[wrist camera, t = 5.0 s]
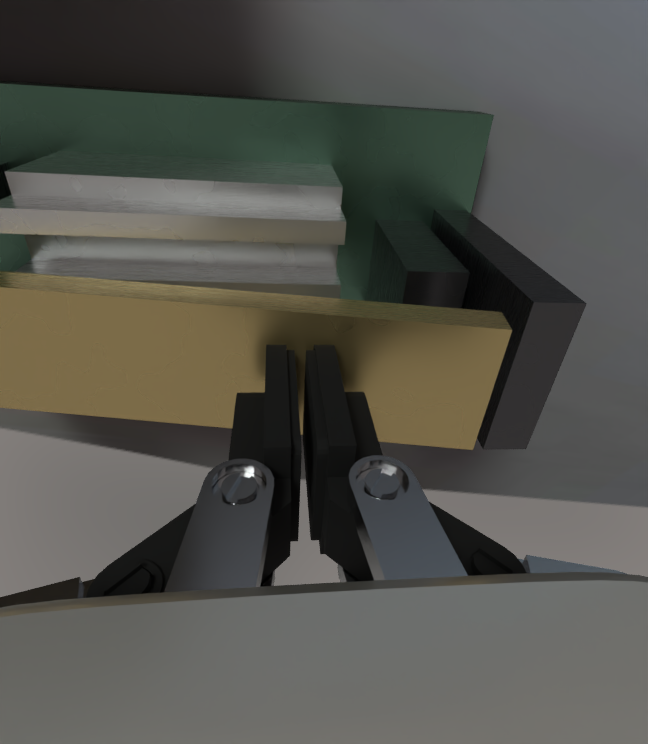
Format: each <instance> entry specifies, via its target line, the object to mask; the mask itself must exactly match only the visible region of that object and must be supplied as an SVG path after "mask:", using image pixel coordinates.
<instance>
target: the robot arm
mask: <svg viewBox="0 0 648 744" xmlns="http://www.w3.org/2000/svg"><path fill="white" fill-rule="evenodd" d="M303 445H304V458H305V471H306V484H307V497H308V509H309V521H310V522H309V523H310V534H311V540H319V544H320V553H321V554H326V555H327V556H329V557H330V558H331V559H333V560H334V561H335V562H336V563H338V575H339V579H340V583H321V584H303V585H284V586H274V580H275V569H276V568H277V567H278V566H279V565H281V564H282V563H283V562H284V561H285V560H286V559H287V558H288V557H289V556H290V541H298V527H299V502H300V476H301V432H300V418H299V405H298V391H297V377H296V364H295V351H294V350H287V346H286V345H266V369H265V392H250V393H237V395H236V402H235V410H234V419H233V427H232V436H231V444H230V453H229V461H225V462H223V463H221V464H219V465H217V466H216V467H214V468H213V469H212V470H211V471H210V472H209V473H208V475H207V477H206V478H205V480H204V482H203V485H202V488H201V491H200V493H199V496H198V499H197V502H196V504H195V505H193V506H192V507H190V508H189V509H187V510H186V511H185V512H183V513H182V514H180V515H179V516H178V517H176V518H175V519H173V520H172V521H170V522H169V523H168V524H166V525H165V526H163V527H162V528H161V529H159V530H158V531H156V532H155V533H154V534H152V535H151V536H149V537H148V538H146V539H145V540H144V541H142V542H141V543H139V544H138V545H137V546H135V547H134V548H132V549H131V550H130V551H128V552H127V553H125V554H124V555H122V556H121V557H120V558H118V559H117V560H115V561H114V562H112V563H111V564H110V565H108V566H107V567H106V568H105V569H104V570H103V571H102V572H100V573H99V574H98V575H97V577H96V578H95V579H93V580H89V581H85V582H82V581H81V579H80V577H78V578H74V579H70V580H66V581H62V582H58V583H54V584H51V585H47V586H43V587H39V588H35V589H31V590H28V591H24V592H19V593H15V594H12V595H8V596H4V597H0V744H648V577H645V576H640V575H629V574H625V573H623V572H619V571H616V570H611V569H605V568H599V567H593V566H587V565H582V564H576V563H570V562H565V561H558V560H553V559H547V558H541V557H536V556H530V555H526V557H525V559H524V560H522V559H517V557H516V556H515V555H514V554H513V553H511V552H510V551H509V550H507V549H506V548H505V547H503V546H502V545H500V544H498V543H497V542H495V541H493V540H492V539H490V538H488V537H487V536H485V535H483V534H482V533H480V532H478V531H477V530H475V529H474V528H472V527H470V526H469V525H467V524H465V523H464V522H462V521H460V520H459V519H457V518H455V517H453V516H452V515H450V514H449V513H447V512H445V511H444V510H442V509H440V508H439V507H437V506H435V505H434V504H432V503H430V502H429V501H428V500H427V498H426V496H425V494H424V492H423V490H422V488H421V486H420V485H419V483H418V481H417V479H416V477H415V475H414V474H413V472H412V471H411V470H410V468H409V467H407V466H406V465H405V464H404V463H402V462H401V461H399V460H396V459H394V458H392V457H387V456H383V455H382V452H381V448H380V445H379V441H378V438H377V434H376V431H375V427H374V424H373V420H372V416H371V413H370V409H369V406H368V402H367V399H366V395H365V393H364V392H345V390H344V386H343V381H342V377H341V372H340V368H339V363H338V359H337V354H336V350H335V346H334V345H314V348H313V350H306V361H305V386H304V411H303Z"/></svg>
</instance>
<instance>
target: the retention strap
mask: <svg viewBox="0 0 648 744" xmlns="http://www.w3.org/2000/svg"><path fill="white" fill-rule="evenodd" d="M511 333H512V329H511V327H510V325H509V323H508V322H507V320H506V318H505V317H504V315H503V313H502V312H495V311H483V310H471V309H459V308H447V307H434V306H422V305H410V304H398V303H386V302H374V301H362V300H350V299H338V298H325V297H313V296H301V295H289V294H277V293H265V292H253V291H241V290H229V289H217V288H204V287H192V286H180V285H168V284H156V283H144V282H132V281H120V280H108V279H95V278H83V277H71V276H59V275H47V274H35V273H23V272H11V271H0V408H10V409H21V410H33V411H44V412H55V413H66V414H77V415H88V416H99V417H111V418H122V419H133V420H144V421H155V422H166V423H178V424H189V425H200V426H211V427H222V428H232V427H233V419H234V410H235V402H236V395H237V393H250V392H265V369H266V345H286V346H287V350H294V351H295V364H296V377H297V391H298V405H299V418H300V432H301V435H303V411H304V386H305V361H306V350H313V348H314V345H334V346H335V350H336V354H337V359H338V363H339V368H340V372H341V377H342V381H343V386H344V390H345V392H364V393H365V395H366V399H367V402H368V406H369V409H370V413H371V416H372V420H373V424H374V427H375V431H376V434H377V438H378V441H379V442H390V443H401V444H412V445H423V446H434V447H445V448H456V449H468V450H473V448H474V445H475V442H476V439H477V436H478V433H479V430H480V427H481V424H482V421H483V418H484V415H485V412H486V409H487V406H488V403H489V400H490V397H491V393H492V390H493V387H494V384H495V381H496V378H497V375H498V372H499V369H500V366H501V363H502V360H503V357H504V354H505V351H506V348H507V345H508V342H509V339H510V336H511Z"/></svg>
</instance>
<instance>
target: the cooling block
mask: <svg viewBox="0 0 648 744" xmlns="http://www.w3.org/2000/svg"><path fill="white" fill-rule="evenodd" d="M493 116H494V115H491V114H487V113H482V112H474V111H459V110H443V109H428V108H412V107H397V106H381V105H366V104H350V103H335V102H319V101H304V100H288V99H273V98H257V97H242V96H226V95H211V94H196V93H180V92H165V91H149V90H134V89H118V88H103V87H87V86H72V85H56V84H41V83H25V82H10V81H0V271H11V272H23V273H35V274H47V275H59V276H71V277H83V278H95V279H108V280H120V281H132V282H144V283H156V284H168V285H180V286H192V287H204V288H217V289H229V290H241V291H253V292H265V293H277V294H289V295H301V296H313V297H325V298H338V299H350V300H362V301H374V302H386V303H398V304H410V305H422V306H434V307H447V308H459V309H471V310H483V311H495V312H502V313H503V315H504V317H505V318H506V320H507V322H508V323H509V325H510V327H511V329H512V333H511V336H510V339H509V342H508V345H507V348H506V351H505V354H504V357H503V360H502V363H501V366H500V369H499V372H498V375H497V378H496V381H495V384H494V387H493V390H492V393H491V397H490V400H489V403H488V406H487V409H486V412H485V415H484V418H483V421H482V424H481V427H480V430H479V433H478V436H477V439H478V440H479V442H480V444H481V446H482V448H483V449H526V448H527V445H528V443H529V440H530V438H531V436H532V433H533V431H534V428H535V426H536V424H537V421H538V419H539V416H540V414H541V412H542V409H543V407H544V404H545V402H546V400H547V397H548V395H549V392H550V390H551V388H552V385H553V383H554V380H555V378H556V376H557V373H558V371H559V368H560V366H561V364H562V361H563V359H564V356H565V354H566V352H567V349H568V347H569V344H570V342H571V340H572V337H573V335H574V332H575V330H576V328H577V325H578V323H579V320H580V318H581V316H582V313H583V311H584V308H585V306H586V303H585V302H584V301H583V300H581V299H580V298H579V297H577V296H576V295H575V294H574V293H572V292H571V291H570V290H568V289H567V288H566V287H565V286H563V285H562V284H561V283H559V282H558V281H557V280H555V279H554V278H553V277H552V276H550V275H549V274H548V273H546V272H545V271H544V270H543V269H541V268H540V267H539V266H537V265H536V264H535V263H534V262H532V261H531V260H530V259H528V258H527V257H526V256H525V255H523V254H522V253H521V252H519V251H518V250H517V249H516V248H514V247H513V246H512V245H510V244H509V243H508V242H507V241H505V240H504V239H503V238H501V237H500V236H499V235H498V234H496V233H495V232H494V231H492V230H491V229H490V228H488V227H487V226H486V225H485V224H483V223H482V222H481V221H479V220H478V219H477V218H476V217H474V216H473V215H472V214H471V211H472V206H473V202H474V198H475V193H476V189H477V185H478V181H479V176H480V172H481V168H482V163H483V159H484V155H485V150H486V146H487V142H488V138H489V133H490V129H491V125H492V120H493Z"/></svg>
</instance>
